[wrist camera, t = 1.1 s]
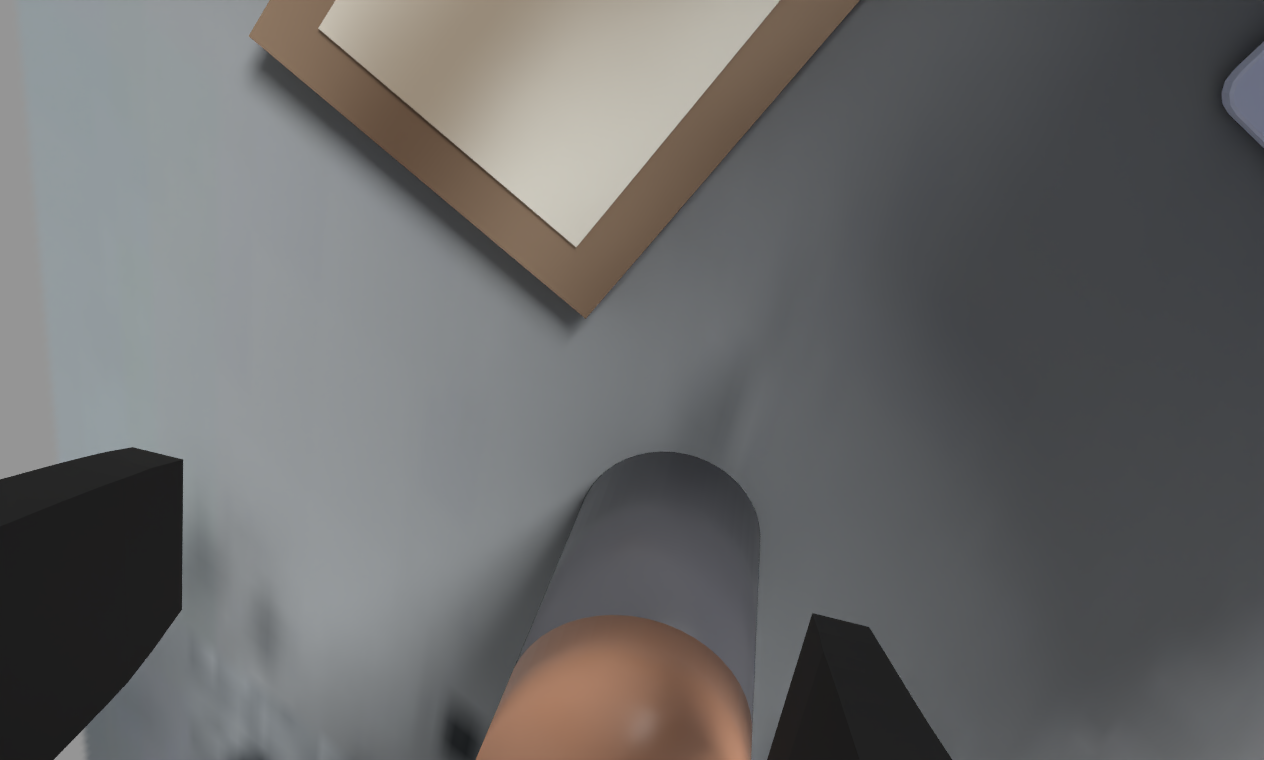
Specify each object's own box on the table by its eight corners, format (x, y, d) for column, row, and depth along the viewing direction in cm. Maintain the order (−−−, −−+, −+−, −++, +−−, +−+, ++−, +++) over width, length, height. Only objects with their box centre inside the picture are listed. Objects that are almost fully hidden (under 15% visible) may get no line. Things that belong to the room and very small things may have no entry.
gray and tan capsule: (799, 533, 20) (808, 826, 13) (678, 643, 22) (624, 964, 14) (657, 415, 20) (583, 648, 12) (543, 536, 21) (415, 810, 14)
